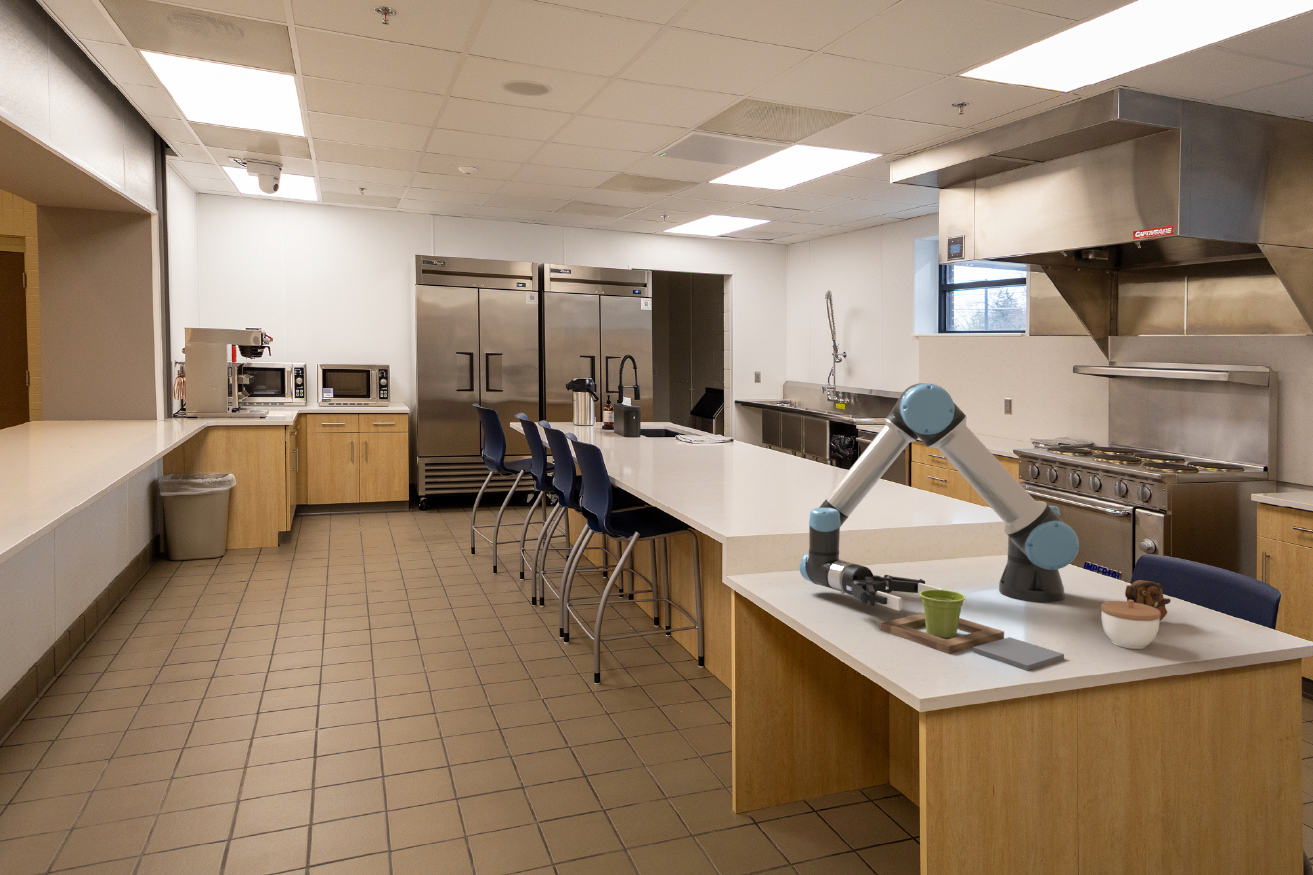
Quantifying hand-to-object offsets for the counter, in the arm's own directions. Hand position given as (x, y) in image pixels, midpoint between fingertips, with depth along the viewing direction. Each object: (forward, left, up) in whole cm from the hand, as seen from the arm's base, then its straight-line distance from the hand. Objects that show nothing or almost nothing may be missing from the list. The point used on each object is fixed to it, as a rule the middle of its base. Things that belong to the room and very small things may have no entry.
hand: (921, 599), depth 180 cm
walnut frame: (-1, +5, -6) cm, 8 cm away
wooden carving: (-45, +25, -7) cm, 52 cm away
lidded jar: (-29, +30, -7) cm, 42 cm away
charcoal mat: (-3, +22, -6) cm, 23 cm away
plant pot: (-1, +5, -7) cm, 8 cm away
